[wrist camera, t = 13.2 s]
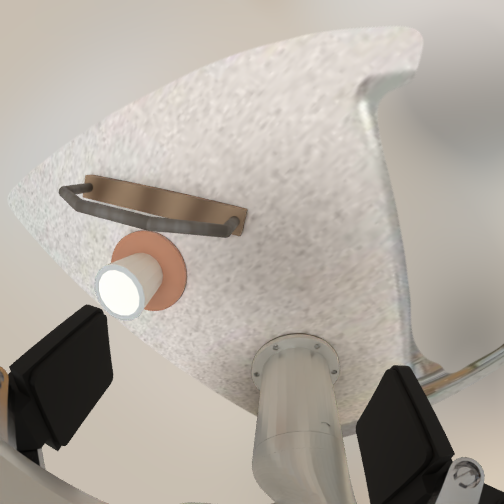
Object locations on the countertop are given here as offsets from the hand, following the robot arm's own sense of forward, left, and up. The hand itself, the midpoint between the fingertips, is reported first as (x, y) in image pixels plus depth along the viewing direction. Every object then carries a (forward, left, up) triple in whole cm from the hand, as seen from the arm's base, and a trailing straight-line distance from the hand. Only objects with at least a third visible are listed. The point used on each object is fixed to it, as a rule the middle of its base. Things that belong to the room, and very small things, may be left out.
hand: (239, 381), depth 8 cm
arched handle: (+10, +10, -26) cm, 30 cm away
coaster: (+4, +17, -26) cm, 31 cm away
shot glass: (+4, +17, -26) cm, 31 cm away
